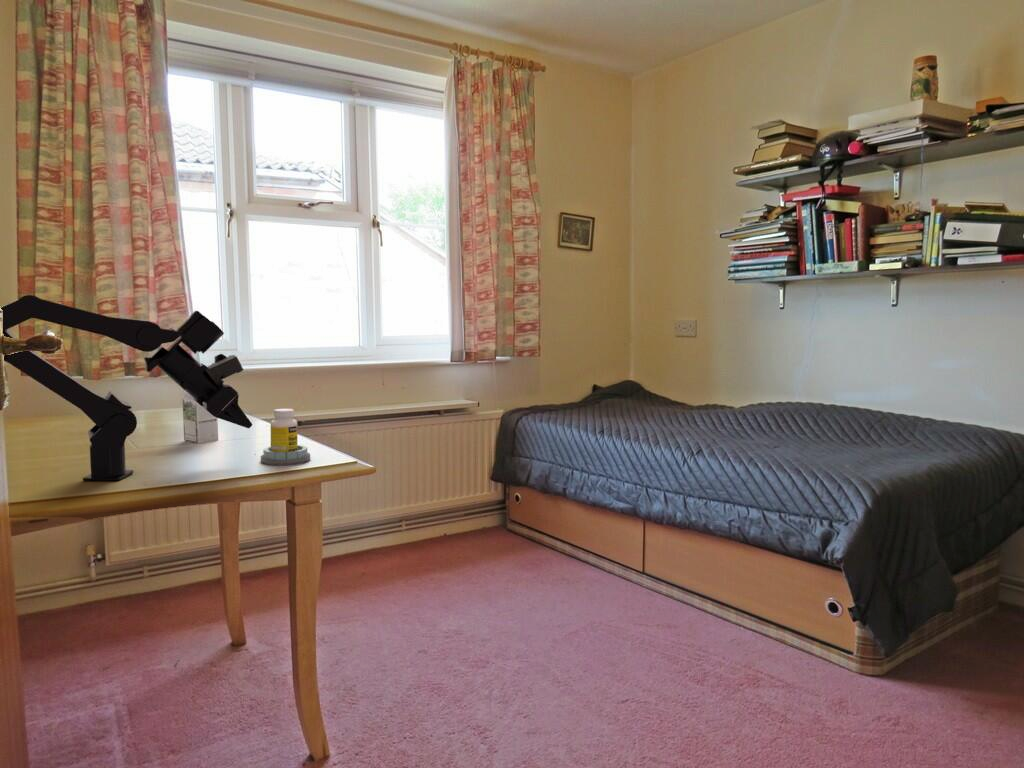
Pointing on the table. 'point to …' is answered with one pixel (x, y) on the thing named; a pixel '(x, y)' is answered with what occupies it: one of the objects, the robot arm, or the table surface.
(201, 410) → the syrup box
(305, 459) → the socket plate
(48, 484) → the table surface
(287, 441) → the supplement bottle
